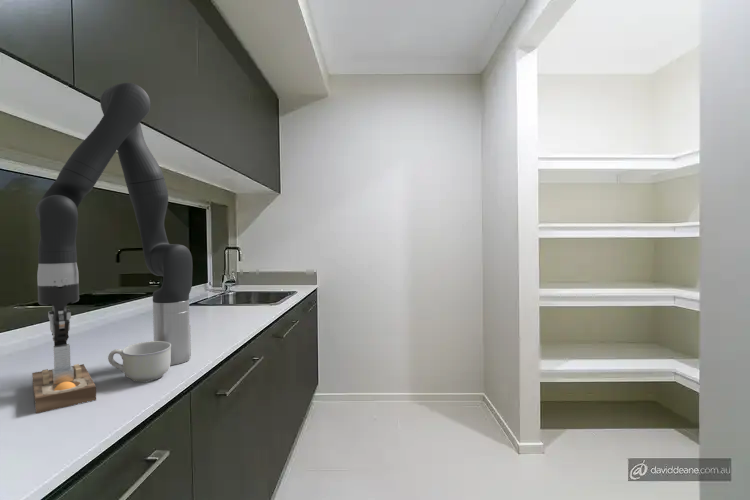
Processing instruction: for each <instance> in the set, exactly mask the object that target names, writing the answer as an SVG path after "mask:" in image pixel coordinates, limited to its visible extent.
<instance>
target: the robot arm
mask: <svg viewBox="0 0 750 500" xmlns="http://www.w3.org/2000/svg"><path fill="white" fill-rule="evenodd" d="M99 101H100V102H99V103H100V108H101V111H102V115H103V116H102V118H101V119H100V121H99V122H98V124H97V125H96V126H95V127H94V128H93V130H92V131H91V132H90V133H89V134H88V135H87V137H86V138H85V139H84V140H82V142H81V143H80V144H78V146H77V148H76V149H75V150H73V152H72V153H71V155H70V156H69V158H68V159H67V160H66V162H65V163H64V165H63V166H62V168H61V170H60V171H59V174H58V175H57V177H56V179H55V181H54V182H53V183H52V184H51V185H50V187H49V188H48V189H47V190H46V192H45V193H44V194H43V196H42V197H41V198H40V200H39V201H38V203H37V204H36V206H35V215H36V218H37V219H38V221H39V231H40V232H39V234H40V235H39V236H40V239H39V240H38V246H37V247H38V248H37V257H38V261H37V262H38V265H37V266H38V267H37V275H36V277H37V303H38V304H39V305H40V306H52V308H51V309H52V310H50V311H47V313H48V315H47V316H48V317H47V318H48V320H49V328H50V332H51V336H52V341H53V347H54V346H57V345H64V344H68V339H69V338H70V337H69V332H70V330H71V323H70V322H71V318H72V312H71V309H67V305H68V304H74V303H77V302H79V301H80V284H79V281H80V279H79V269H78V268H79V267H78V256H77V255H78V254H77V244H76V243H77V233H78V223H79V213H78V208H79V206H80V204H81V203H82V201H83V199H84V198H85V196H87V194H89V193H90V192H91V191H92V190H93V188H94V187H95V185H96V184H97V182H98V180H99V179H100V177H101V175H102V174H103V173H104V170H105V169H106V167H108V164H109V162H110V161H111V160H112V158H113V156H114V155H115V154H116V152H117V154H118V159H119V163H120V166H121V169H122V173H123V177H124V181H125V185H126V189H127V191H128V194H129V198H130V201H131V204H132V208H133V211H134V215H135V219H136V222H137V226H138V231H139V234H140V239H141V246H142V252H143V258H144V262H145V266H146V267H147V270H149V272H150V273H151V274H153V275H154V276H157V277H162V284H161V287H160V288H158V289H156V290H154V291H153V293H152V315H153V316H152V317H153V318H152V319H153V320H152V323H153V325H152V327H153V328H152V329H153V332H152V333H153V341H163V342H168V343H170V344H171V364H170V366H173V365H178V364H183V363H185V362H188V361H189V360H191V357H192V343H191V341H192V340H191V337H192V335H191V324H190V293H191V290H192V287H193V267H194V266H193V256H192V253H191V251H190V249H189V248H188V247H187V246H185V245H183V244H179V243H170V242H169V240H168V237H167V233H166V229H165V219H166V214H167V210H168V205H169V192H168V188H167V183H166V181H165V179H166V178H165V177H164V173H163V171H162V168H161V166H160V165H159V163H158V161H157V159H156V158H155V157H154V154H153V153H152V152H151V151H150V149H149V147H148V145H147V143H146V140H145V137H144V135H143V129H142V125H141V122H142V121H143V120H144V118H146V117H147V115H149V113H150V110H151V104H152V103H151V99H150V96H149V95H148V93H147V92H146V91H145V89H144V88H142V87H141V86H140V85H138V84H136V83H133V82H120V83H117V84H115V85H111V86H110V87H108V88H106V89H104V91H103V92H102V93H101V95H100V99H99Z"/></svg>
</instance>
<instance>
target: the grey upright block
mask: <svg viewBox="0 0 750 500" xmlns="http://www.w3.org/2000/svg"><path fill="white" fill-rule="evenodd" d="M72 366H73V365H71V345H70V343H67V344H64V345H57V346H54V345H53V368H52V369H51V370H52V381H53V384H59V383H62V382H69V381H74V370H73V367H72Z"/></svg>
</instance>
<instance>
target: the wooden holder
mask: <svg viewBox="0 0 750 500" xmlns="http://www.w3.org/2000/svg"><path fill="white" fill-rule="evenodd" d="M71 366H72V367H73V370H74V381H69V382H72V383H74V384H75V386H76V387H73V388H70V389H65V390H56V391H54V389H55V387H56V386H57V385H59V384H60V383H59V384H53V381H52V369H48V368H46V369H42V370H41V371H36V372H32V373H31V375H32V390H33V398H34V406H35V413H36V414H40V413H44V412H48V411H52V410H53V411H54V410H57V409H63V408H66V407H71V405H72V406H75V405H74V404H76V405H79V404H78V403H81V404H83V403H82V402H85V403H88V402H87V401H90V402H93V401H92V400H94V401H97V388H96V387H97V386H96V383H94V381H93V379H92V377H91V375H90V373H89V371H88V370H87V368H86V366H85V364H84V363H83V364H80V363H76V364H73V365H71Z"/></svg>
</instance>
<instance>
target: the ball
mask: <svg viewBox="0 0 750 500" xmlns="http://www.w3.org/2000/svg"><path fill="white" fill-rule="evenodd" d="M73 387H76V386H75V384H74V383H72V382H62V383H60V384H59V385H57V386H56V387H55V389H54V391H56V390H65V389H70V388H73Z"/></svg>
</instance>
